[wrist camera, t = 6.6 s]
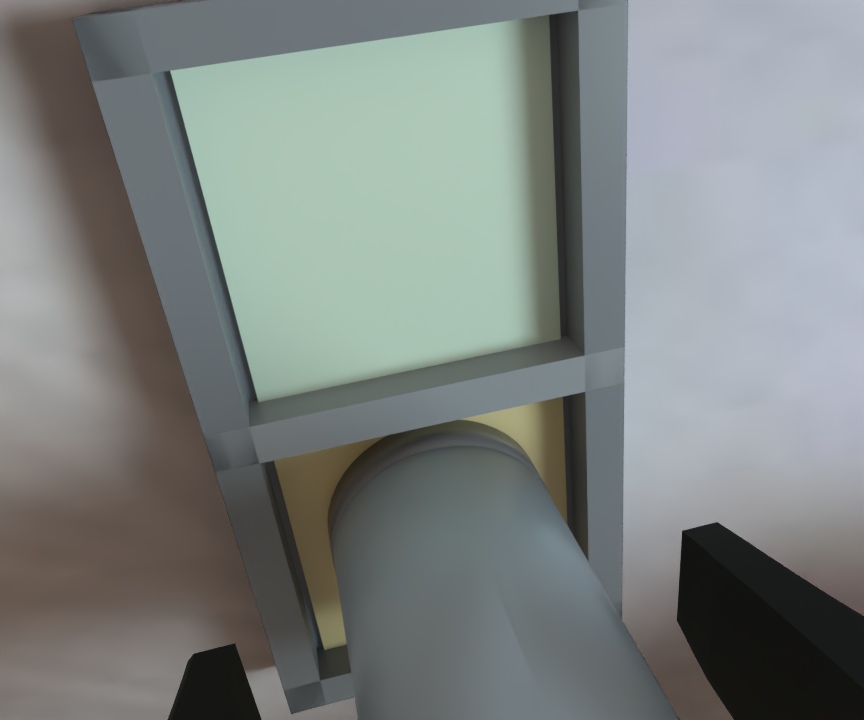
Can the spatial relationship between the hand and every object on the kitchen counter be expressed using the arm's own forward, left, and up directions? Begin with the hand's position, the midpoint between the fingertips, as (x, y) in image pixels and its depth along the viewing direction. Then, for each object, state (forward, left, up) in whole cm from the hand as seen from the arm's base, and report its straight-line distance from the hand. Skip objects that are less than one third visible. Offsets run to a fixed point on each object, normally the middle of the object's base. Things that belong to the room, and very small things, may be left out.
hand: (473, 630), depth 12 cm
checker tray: (0, -3, -3) cm, 4 cm away
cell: (0, 0, -3) cm, 3 cm away
